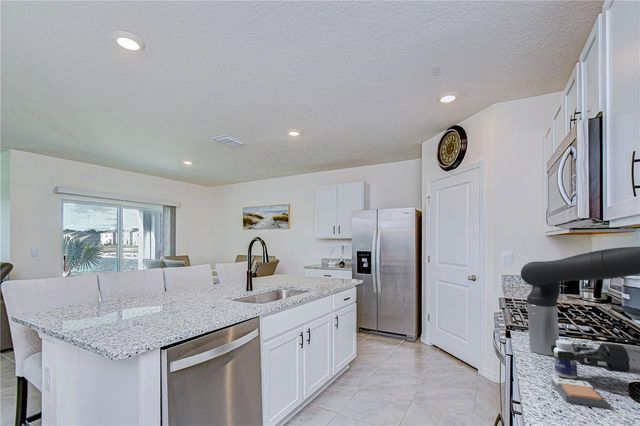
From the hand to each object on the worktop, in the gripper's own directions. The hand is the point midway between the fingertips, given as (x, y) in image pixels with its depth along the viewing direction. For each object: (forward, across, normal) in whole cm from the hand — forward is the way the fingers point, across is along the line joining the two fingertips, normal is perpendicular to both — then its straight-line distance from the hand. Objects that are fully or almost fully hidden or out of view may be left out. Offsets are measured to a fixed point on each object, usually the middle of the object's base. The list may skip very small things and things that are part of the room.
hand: (554, 351), depth 98 cm
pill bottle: (-3, 0, +7) cm, 7 cm away
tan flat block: (-1, +13, +7) cm, 15 cm away
